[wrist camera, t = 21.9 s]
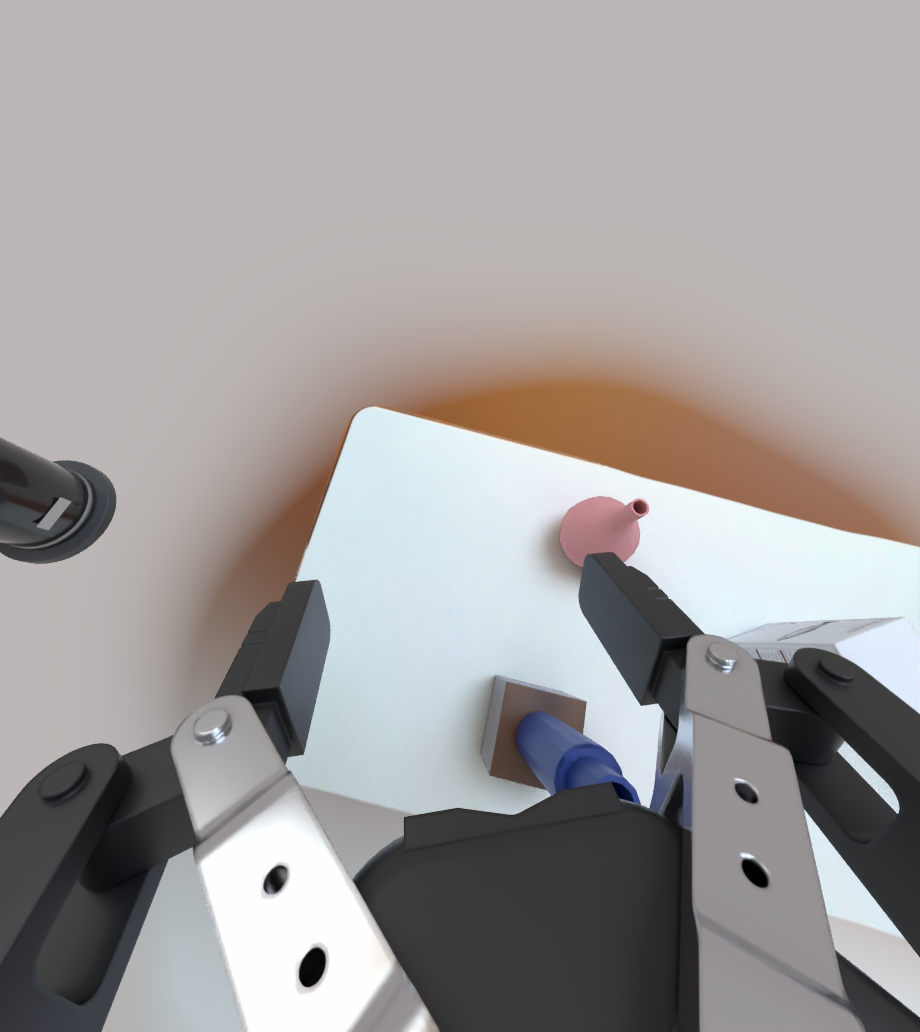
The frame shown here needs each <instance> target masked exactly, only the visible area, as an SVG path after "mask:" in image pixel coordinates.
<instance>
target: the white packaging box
mask: <svg viewBox="0 0 920 1032" xmlns="http://www.w3.org/2000/svg"><path fill="white" fill-rule="evenodd" d="M727 640H729V641H732V642H734V643H735V644H737V645H739V646H740V647H742V648H743V649H744V650H746V651H747V652H748V653H749V654H750V655H751V656H752V657H753V658H754V659H761V660H769V661H776V662H783V663H789V662H790V660H791V658H792V657H793V655H794V653H795V652H796V651H797V650H799V649H801V648H817V649H822V650H826V651H829V652H832V653H835V654H837V655H840V656H842V657H844V658H846V659H848V660H850V661H852V662H853V663H855V664H857V665H858V666H859V667H861V668H862V669H864V670H865V671H866V672H867V673H869V674H870V675H871V676H873V677H874V678H875V679H876V680H878V681H879V682H880V683H881V684H883V685H884V686H885V687H886V688H888V689H889V690H890V691H891V692H893V693H894V694H895V695H897V696H898V697H899V698H900V699H902V700H903V701H904V702H905V703H907V704H908V705H909V706H910V707H912V708H913V709H914V710H916V711H917V712H918V713H919V714H920V638H919V636H918V634H917V633H916V631H915V629H914V628H913V626H912V625H911V623H910V622H909V621H908V619H907V618H905V617H897V618H874V619H852V620H827V621H804V622H781V623H769V624H767V625H765V626H762V627H760V628H758V629H755V630H752V631H750V632H747V633H744V634H741V635H738V636H735V637H732V638H729V639H727Z"/></svg>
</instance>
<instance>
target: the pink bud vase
mask: <svg viewBox="0 0 920 1032" xmlns="http://www.w3.org/2000/svg"><path fill="white" fill-rule="evenodd" d="M648 512H649V505H648V504H647V502H646V501H644V500H642V499H635V500H634V501H632V502H631V503H629V504H628V505H626V506H625V505H624V504H623V503H622V502H619V501H617V500H615V499H613V498H610V497H602V496H598V497H593V498H589V499H586V500H584V501H582V502H579V503H577V504H576V505H575V506H573V507H572V508H570V509H569V510H568V512H567V513H566V515H565V516H564V518H563V521H562V526H561V531H560V542H561V547H562V549H563V551H564V553H565V555H566V556H567V557H568V558H569V559H570V560H571V561H572V562H573V563H574V564H577V565H579V566H581V567H583V564H584V559H585V556H586V555H587V554H593V553H603V552H613V553H615V554H616V555H617V556H618V557H619V558H620V559H621V561H622V562H623V563H624V562H625V561H626V560H627V559H628V558H629V557H630V556H631V555H633V554H634V552H635V550H636V548H637V546H638V545H639V538H640V530H639V526H638V521H637V520H638V519H640V518H641V517H643V516H645V515H646V514H648Z"/></svg>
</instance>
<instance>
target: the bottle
mask: <svg viewBox="0 0 920 1032" xmlns="http://www.w3.org/2000/svg"><path fill="white" fill-rule="evenodd" d="M516 742H517V747H518V750H519V752H520V754H521V756H522V757H523V759H524V760H525V762H526V763H527V764H528V766H529V767H530V768H531V769H532V771H533V772H534V773H535V775H536V776H537V777H538V779H539V780H540V781H541V783H542V784H543V785H544V787H545V788H546V789H547V790H548V792H549V793H550V794H551V796H552V795H554V794H556V793H558V792H559V791H561V790H564V789H570V788H576V787H581V786H587V785H593V784H599V783H605V782H610V781H611V782H612V784H613V786H614V789H615V791H616V793H617V795H618V797H619V799H622V800H627V801H630V802H634V803H637V804H640V805H641V803H640V800H639V798H638V795H637V792H636V790H635V788H634V787H633V786H632V785H631V784H630V783H629V782H628V781H627V780H626V779H625V778H624V777H623V775H622V771H621V768H620V766H619V765H618V763H617V761H616V760H615V758H614V757H613V755H612V754H611V753H609V752H608V751H607V750H606V749H604V748H603V747H602V746H600V745H599V744H597V743H596V742H594V741H592V740H591V739H589V738H588V737H586V736H584V735H583V734H581V733H580V732H578V731H577V730H575V729H573V728H572V727H570V726H569V725H567V724H565V723H564V722H562V721H561V720H559V719H558V718H556V717H554V716H553V715H551V714H549V713H546V712H542V711H536V712H532V713H530V714H528V715H526V716H525V717H524V718H523V719H522V721H521V722H520V724H519V726H518V729H517V733H516Z"/></svg>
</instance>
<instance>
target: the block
mask: <svg viewBox="0 0 920 1032" xmlns="http://www.w3.org/2000/svg"><path fill="white" fill-rule="evenodd" d="M536 711H542V712H546V713H549V714H551V715H553V716H554V717H556V718H558V719H559V720H561V721H562V722H564V723H565V724H567V725H569V726H570V727H572V728H573V729H575V730H577V731H578V732H580V733H581V734H583V728H584V719H585V711H586V701H584V700H581V699H579V698H576V697H574V696H571V695H569V694H566V693H564V692H561V691H557V690H553V689H549V688H545V687H541V686H537V685H533V684H529V683H526V682H522V681H518V680H514V679H510V678H506V677H502V676H498V675H495V678H494V684H493V689H492V694H491V699H490V704H489V710H488V715H487V720H486V725H485V730H484V736H483V741H482V746H481V751H480V754H481V756H482V759H483V761H484V763H485V766H486V768H487V770H488V773H489V775H490V776H494V777H498V778H502V779H505V780H509V781H513V782H517V783H521V784H525V785H529V786H533V787H536V788H540V789H544V790H547V789H546V788H545V787H544V785H543V784H542V783H541V781H540V780H539V779H538V777H537V776H536V775H535V773H534V772H533V771H532V769H531V768H530V767H529V766H528V764H527V763H526V762H525V760H524V759H523V757H522V756H521V754H520V752H519V750H518V747H517V742H516V733H517V729H518V726H519V724H520V722H521V721H522V719H523V718H524V717H525V716H526V715H528V714H530V713H532V712H536Z"/></svg>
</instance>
